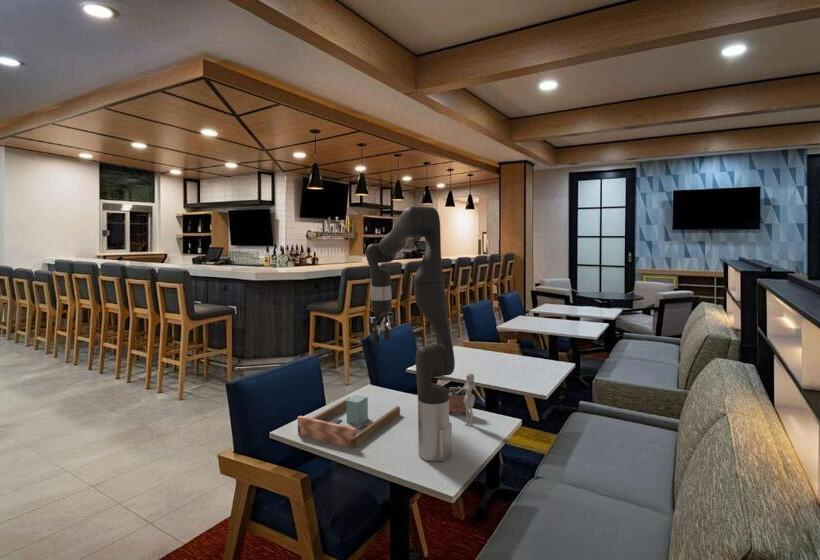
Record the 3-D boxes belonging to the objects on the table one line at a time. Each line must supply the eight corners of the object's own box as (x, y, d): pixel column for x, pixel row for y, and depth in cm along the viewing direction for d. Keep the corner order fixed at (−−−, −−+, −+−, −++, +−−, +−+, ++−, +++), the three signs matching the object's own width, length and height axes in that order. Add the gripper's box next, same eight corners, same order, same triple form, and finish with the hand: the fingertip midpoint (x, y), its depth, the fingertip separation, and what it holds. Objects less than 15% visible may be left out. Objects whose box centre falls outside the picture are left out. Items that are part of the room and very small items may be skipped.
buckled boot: (469, 412, 171) (469, 385, 170) (469, 415, 167) (469, 389, 166) (447, 411, 171) (447, 385, 170) (447, 415, 168) (447, 388, 167)
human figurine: (452, 421, 163) (452, 371, 161) (458, 418, 165) (458, 369, 164) (480, 431, 155) (481, 378, 153) (487, 427, 157) (487, 376, 155)
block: (368, 418, 166) (367, 396, 165) (358, 424, 161) (358, 402, 160) (356, 416, 169) (355, 394, 168) (346, 422, 163) (346, 400, 163)
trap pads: (374, 428, 158) (374, 426, 158) (361, 437, 151) (361, 436, 151) (331, 418, 166) (331, 417, 166) (317, 427, 159) (317, 426, 159)
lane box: (400, 414, 169) (399, 398, 169) (353, 448, 143) (353, 429, 143) (349, 404, 180) (349, 389, 179) (298, 434, 154) (297, 416, 153)
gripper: (379, 301, 162) (380, 347, 164) (399, 296, 175) (400, 339, 177) (361, 300, 166) (362, 345, 168) (382, 295, 179) (383, 337, 180)
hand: (382, 342), depth 172 cm, fingers open, 7 cm apart
